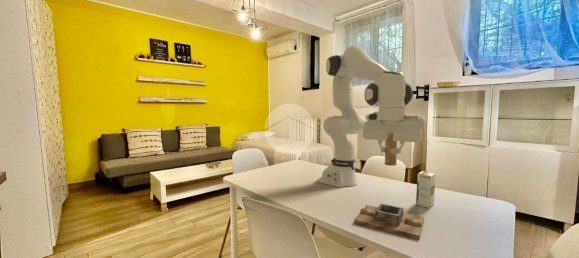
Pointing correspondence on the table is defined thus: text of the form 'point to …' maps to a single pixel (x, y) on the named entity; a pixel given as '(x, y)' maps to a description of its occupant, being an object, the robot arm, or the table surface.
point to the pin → (390, 150)
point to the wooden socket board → (391, 220)
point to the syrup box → (425, 189)
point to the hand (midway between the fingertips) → (390, 152)
